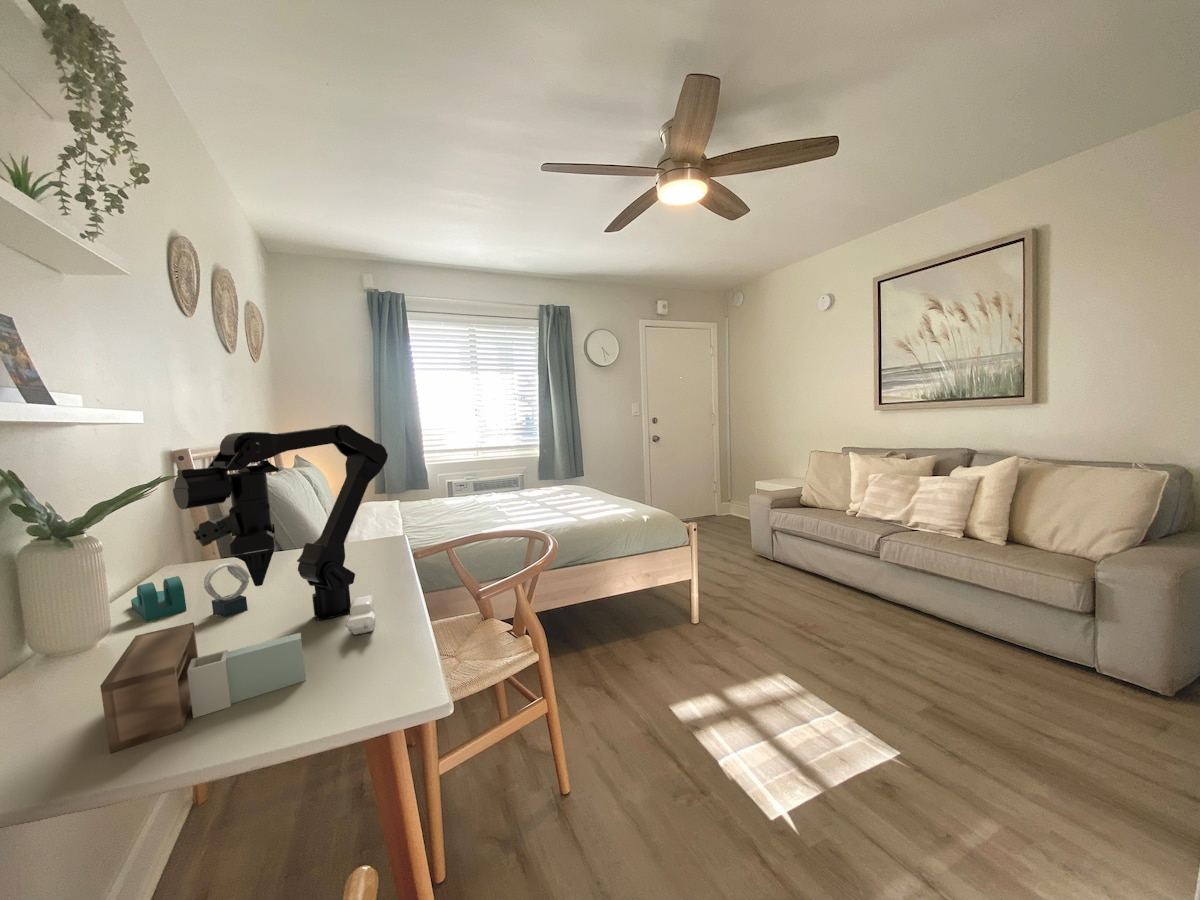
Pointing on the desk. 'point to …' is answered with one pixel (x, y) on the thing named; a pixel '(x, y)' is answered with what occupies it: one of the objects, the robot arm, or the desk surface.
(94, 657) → the desk surface
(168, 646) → the cabinet
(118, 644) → the desk surface
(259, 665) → the grey block with opening
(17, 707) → the desk surface
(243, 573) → the watch
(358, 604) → the power adapter
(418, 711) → the desk surface
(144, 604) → the bracket
